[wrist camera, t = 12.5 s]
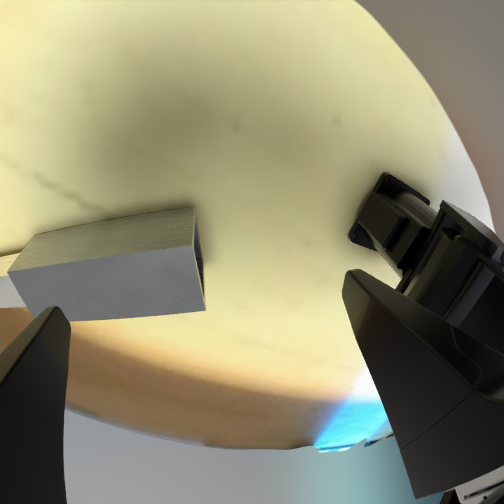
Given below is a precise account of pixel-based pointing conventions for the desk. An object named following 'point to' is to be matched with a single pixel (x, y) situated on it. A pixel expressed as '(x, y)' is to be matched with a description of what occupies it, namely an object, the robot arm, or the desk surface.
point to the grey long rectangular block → (115, 268)
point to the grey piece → (8, 284)
